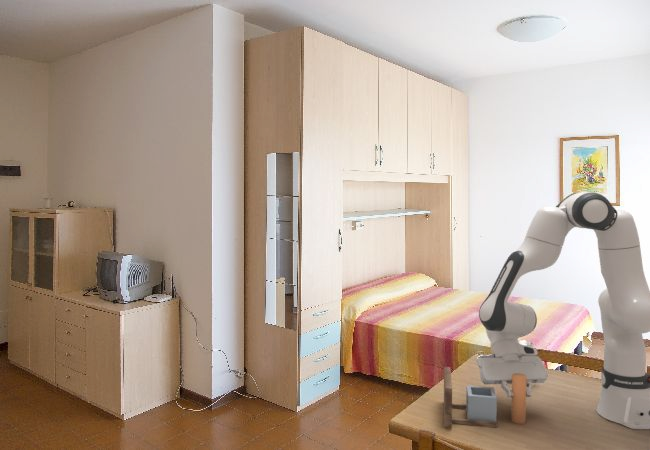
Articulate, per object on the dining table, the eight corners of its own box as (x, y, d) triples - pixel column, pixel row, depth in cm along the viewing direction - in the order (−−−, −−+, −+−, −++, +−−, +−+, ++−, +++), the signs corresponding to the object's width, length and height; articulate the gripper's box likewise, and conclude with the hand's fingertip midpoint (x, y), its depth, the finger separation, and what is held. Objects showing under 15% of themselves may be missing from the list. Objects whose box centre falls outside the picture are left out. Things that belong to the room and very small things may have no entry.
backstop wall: (491, 406, 163) (491, 370, 162) (498, 432, 145) (498, 392, 144) (443, 402, 166) (444, 366, 165) (444, 427, 149) (445, 388, 148)
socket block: (493, 412, 158) (493, 387, 158) (496, 424, 150) (496, 398, 150) (466, 409, 160) (466, 385, 159) (467, 421, 152) (468, 395, 151)
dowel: (524, 418, 154) (525, 373, 153) (526, 424, 150) (527, 378, 149) (510, 417, 155) (511, 372, 154) (512, 423, 151) (513, 377, 150)
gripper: (477, 350, 158) (488, 393, 149) (541, 348, 159) (556, 391, 150) (472, 359, 162) (483, 401, 153) (534, 357, 163) (548, 399, 154)
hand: (519, 396), depth 151 cm, fingers closed on dowel, 4 cm apart
